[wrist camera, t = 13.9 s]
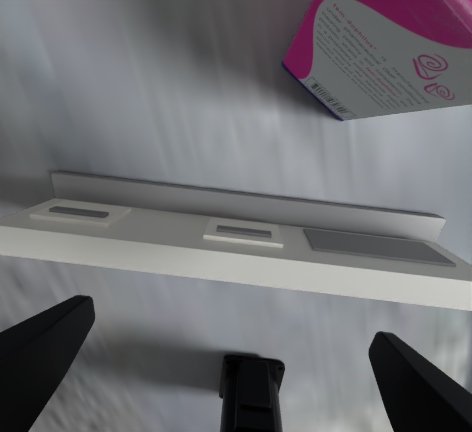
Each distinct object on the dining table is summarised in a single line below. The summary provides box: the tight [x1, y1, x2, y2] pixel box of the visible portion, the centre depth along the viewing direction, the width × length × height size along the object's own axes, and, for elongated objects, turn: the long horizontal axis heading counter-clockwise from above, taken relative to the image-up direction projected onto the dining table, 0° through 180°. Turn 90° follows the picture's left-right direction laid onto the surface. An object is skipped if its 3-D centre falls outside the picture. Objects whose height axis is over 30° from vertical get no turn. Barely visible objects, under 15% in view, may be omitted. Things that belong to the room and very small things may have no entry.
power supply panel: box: [0, 171, 472, 311], centre depth 16 cm, size 6×30×6 cm, turn 84°
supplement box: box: [282, 0, 472, 121], centre depth 9 cm, size 6×6×12 cm
